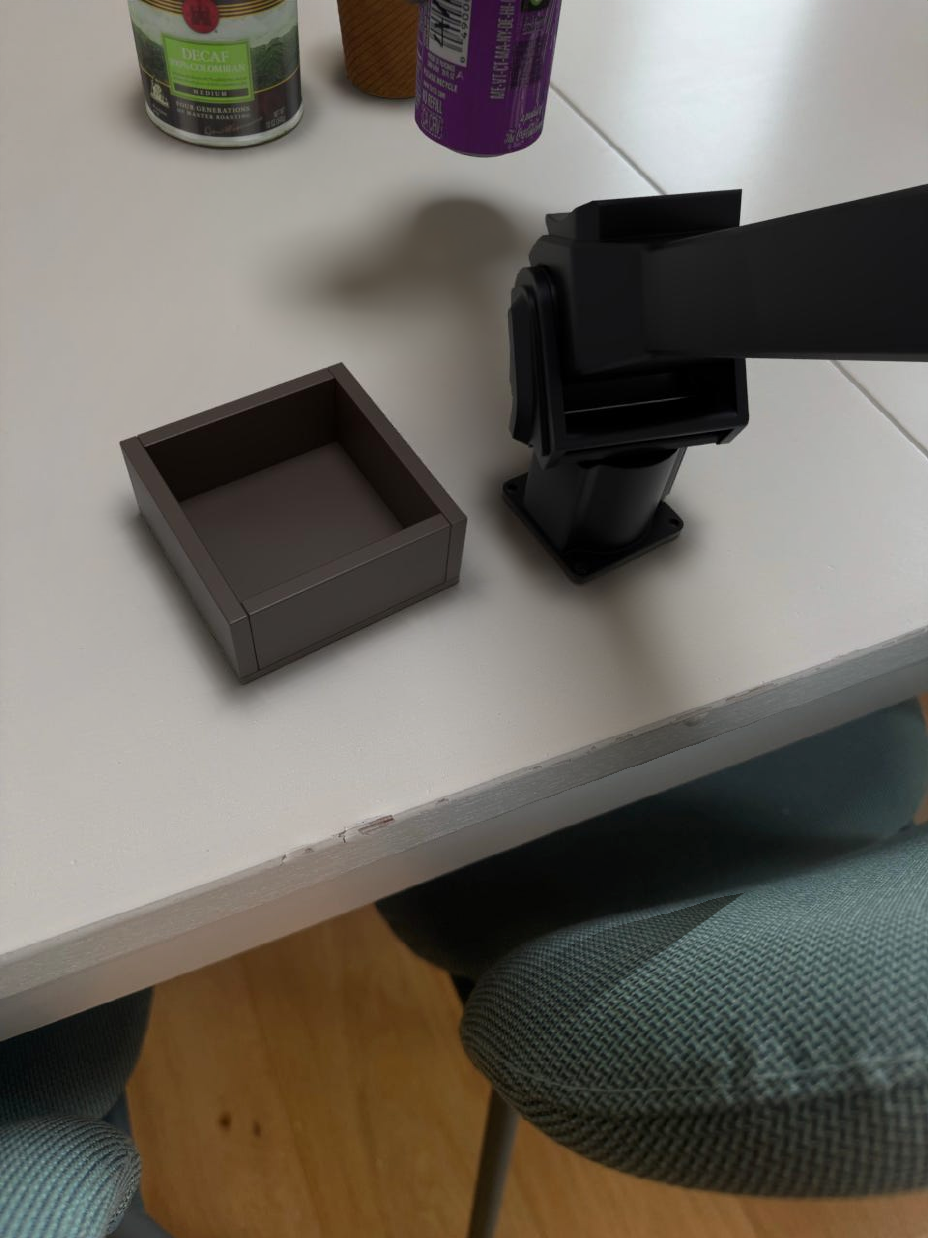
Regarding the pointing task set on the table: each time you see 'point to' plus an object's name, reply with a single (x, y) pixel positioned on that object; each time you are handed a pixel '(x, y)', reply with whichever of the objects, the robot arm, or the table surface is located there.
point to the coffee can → (219, 68)
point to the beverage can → (484, 73)
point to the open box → (295, 517)
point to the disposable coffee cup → (380, 45)
